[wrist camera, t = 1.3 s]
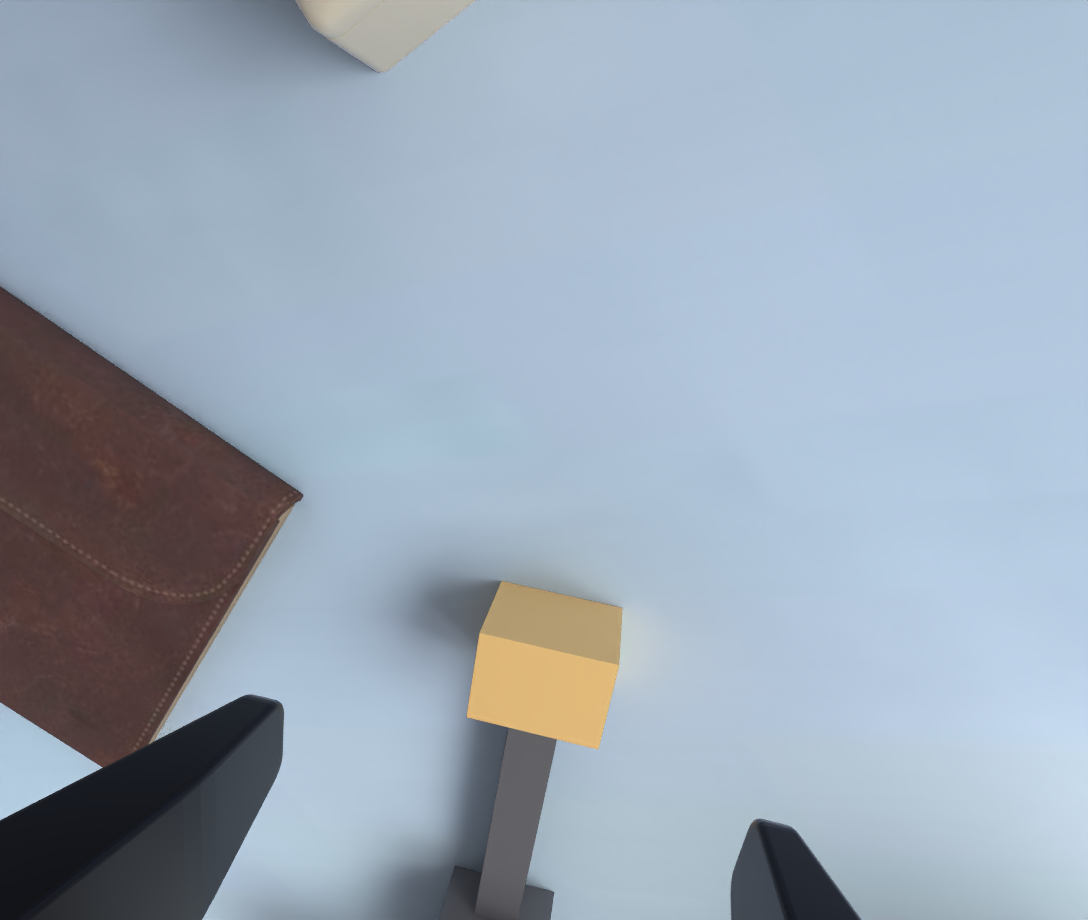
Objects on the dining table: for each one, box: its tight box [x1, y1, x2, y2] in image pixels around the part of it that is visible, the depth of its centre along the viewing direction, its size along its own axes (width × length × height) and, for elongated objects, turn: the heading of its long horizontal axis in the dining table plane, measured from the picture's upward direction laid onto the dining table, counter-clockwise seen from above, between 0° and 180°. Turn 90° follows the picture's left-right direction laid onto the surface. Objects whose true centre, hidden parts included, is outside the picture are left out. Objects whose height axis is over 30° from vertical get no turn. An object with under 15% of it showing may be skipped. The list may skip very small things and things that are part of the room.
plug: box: [439, 581, 622, 920], centre depth 22 cm, size 4×17×3 cm, turn 170°
